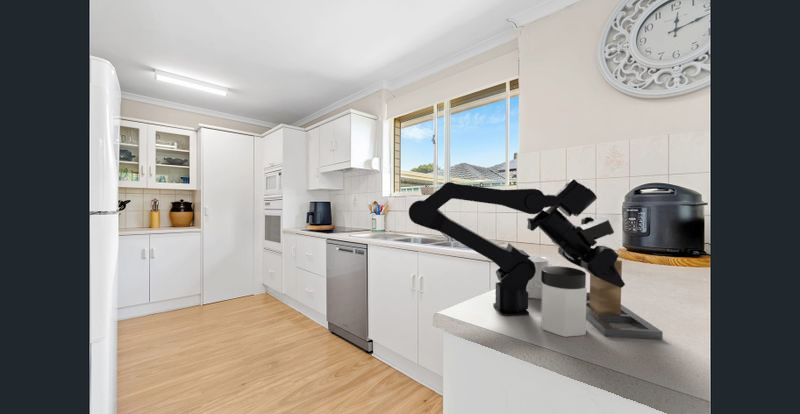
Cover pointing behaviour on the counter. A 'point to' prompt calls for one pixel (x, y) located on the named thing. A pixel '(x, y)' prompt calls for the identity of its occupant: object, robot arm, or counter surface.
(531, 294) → the white cup
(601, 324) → the rail plate
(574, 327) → the jar
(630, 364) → the counter surface
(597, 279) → the oak block
